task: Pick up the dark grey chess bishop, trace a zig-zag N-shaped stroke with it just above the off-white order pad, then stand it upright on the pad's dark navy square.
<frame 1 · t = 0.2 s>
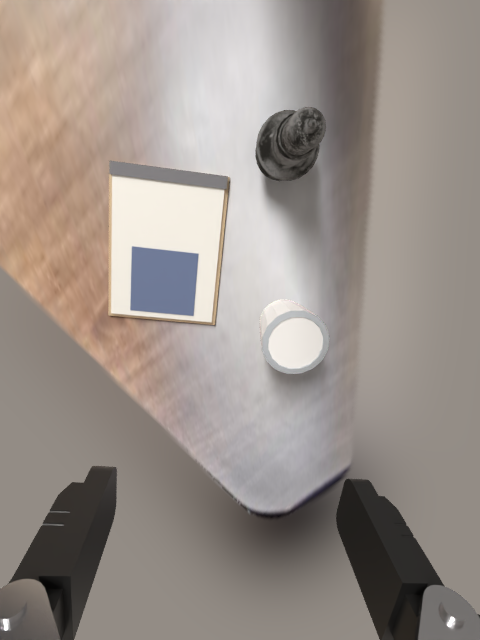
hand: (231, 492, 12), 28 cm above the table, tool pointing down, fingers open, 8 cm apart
dark grey chess bishop: (280, 153, 35), on the table
order pad: (166, 249, 37), on the table
shot glass: (282, 321, 40), on the table
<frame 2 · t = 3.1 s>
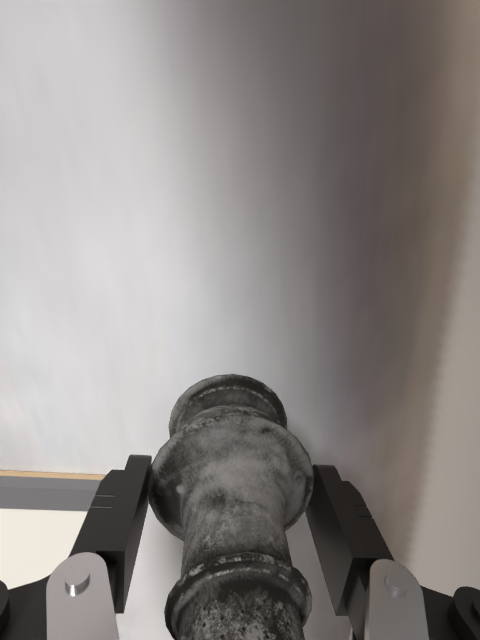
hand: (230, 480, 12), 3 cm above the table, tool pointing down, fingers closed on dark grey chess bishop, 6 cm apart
dark grey chess bishop: (228, 424, 15), on the table, touching gripper
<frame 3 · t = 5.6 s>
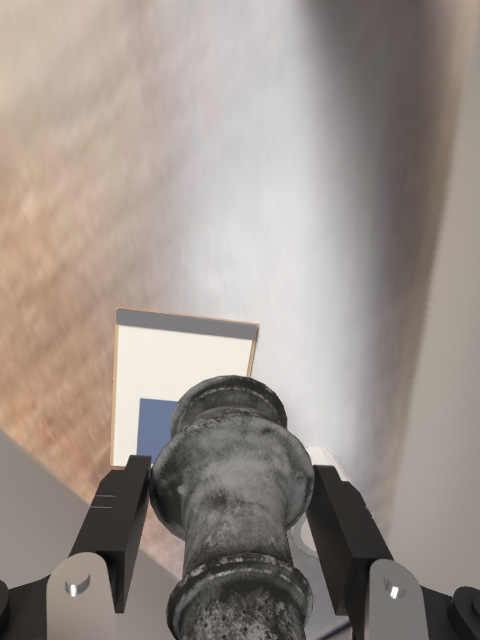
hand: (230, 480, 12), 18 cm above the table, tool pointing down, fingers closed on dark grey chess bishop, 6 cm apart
dark grey chess bishop: (229, 424, 15), point 14 cm above the table, touching gripper
order pad: (180, 397, 31), on the table
shot glass: (310, 467, 35), on the table
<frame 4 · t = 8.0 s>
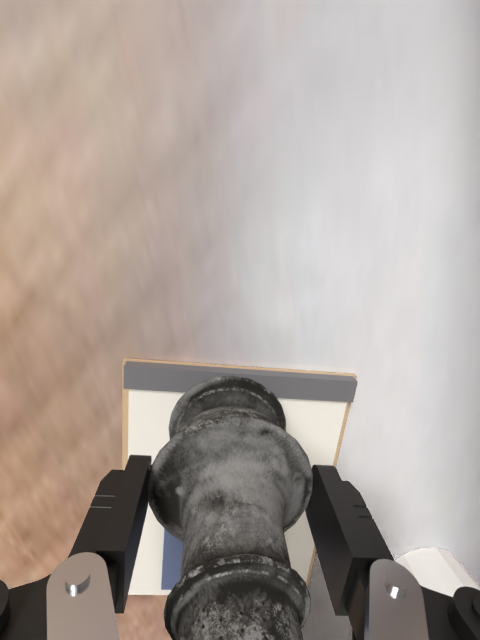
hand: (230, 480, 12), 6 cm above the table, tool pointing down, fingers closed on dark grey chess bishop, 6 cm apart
dark grey chess bishop: (227, 425, 15), point 3 cm above the table, touching gripper
order pad: (228, 490, 20), on the table
shot glass: (418, 574, 23), on the table
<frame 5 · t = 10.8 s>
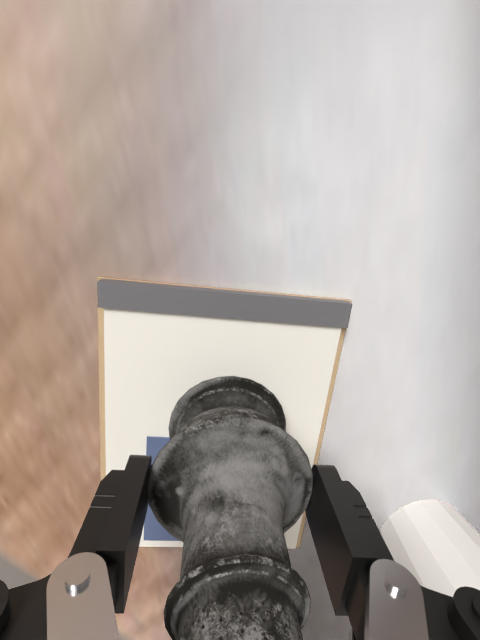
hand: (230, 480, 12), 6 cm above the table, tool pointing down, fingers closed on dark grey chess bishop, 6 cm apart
dark grey chess bishop: (227, 425, 15), point 3 cm above the table, touching gripper
order pad: (214, 431, 18), on the table
shot glass: (418, 530, 22), on the table
when the fingers open (5 cm above the table, at t = 13.0 s): dark grey chess bishop drops 1 cm, resting on order pad.
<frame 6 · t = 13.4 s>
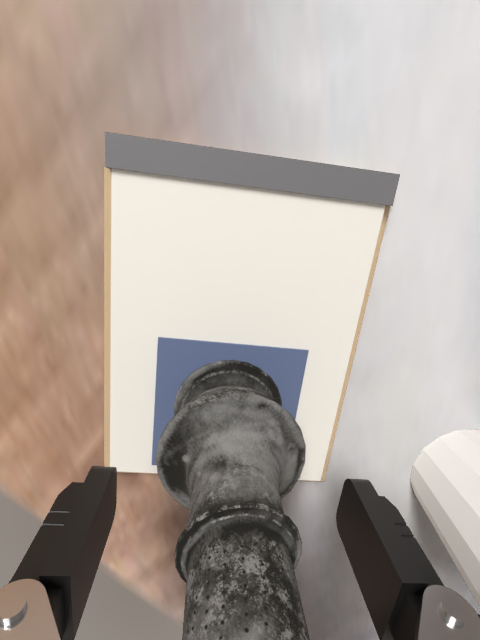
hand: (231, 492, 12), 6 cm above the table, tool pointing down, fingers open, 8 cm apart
dark grey chess bishop: (228, 406, 17), point 1 cm above the table, touching order pad
order pad: (234, 338, 16), on the table
shot glass: (454, 467, 20), on the table
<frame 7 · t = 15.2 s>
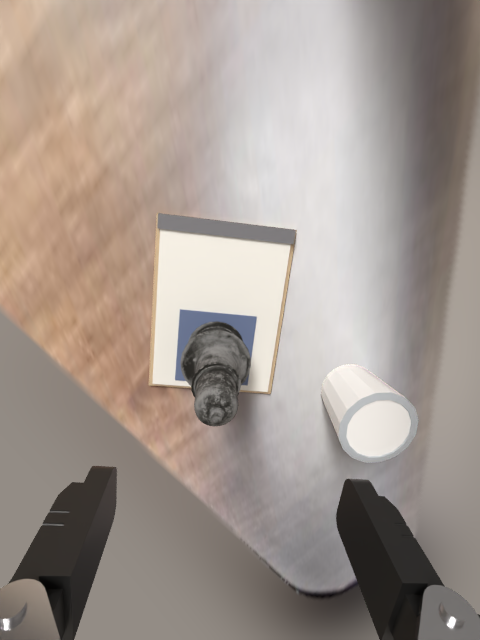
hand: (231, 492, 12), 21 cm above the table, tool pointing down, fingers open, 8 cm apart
dark grey chess bishop: (215, 347, 32), point 1 cm above the table, touching order pad
order pad: (218, 310, 31), on the table
shot glass: (346, 388, 35), on the table
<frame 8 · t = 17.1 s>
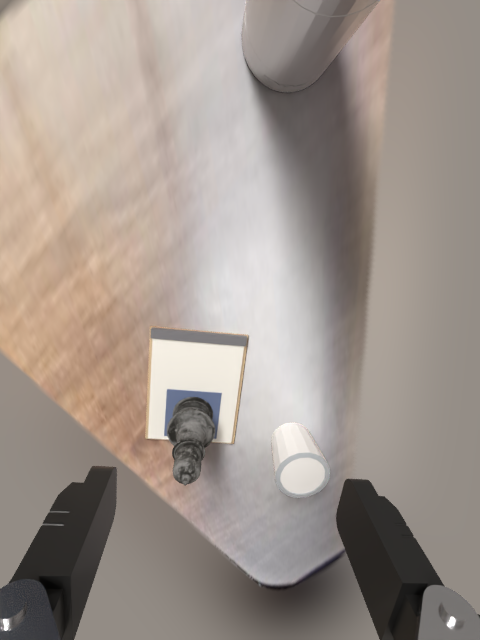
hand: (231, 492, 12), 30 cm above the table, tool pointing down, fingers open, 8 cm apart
dark grey chess bishop: (193, 413, 44), point 1 cm above the table, touching order pad
order pad: (194, 388, 44), on the table
shot glass: (290, 438, 48), on the table
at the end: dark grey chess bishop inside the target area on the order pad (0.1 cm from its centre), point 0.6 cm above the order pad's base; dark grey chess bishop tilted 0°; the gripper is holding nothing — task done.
